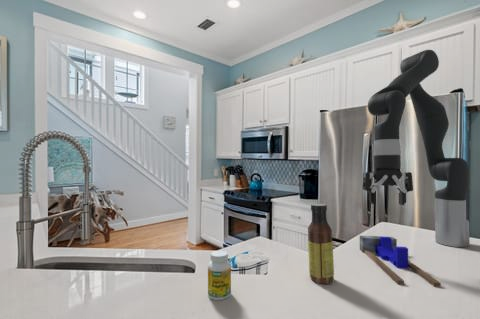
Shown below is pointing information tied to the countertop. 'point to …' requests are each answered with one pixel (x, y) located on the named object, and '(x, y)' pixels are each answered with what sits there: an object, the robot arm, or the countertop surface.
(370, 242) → the guide channel
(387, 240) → the cable clip
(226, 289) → the supplement bottle
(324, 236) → the sauce bottle
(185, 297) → the countertop surface
